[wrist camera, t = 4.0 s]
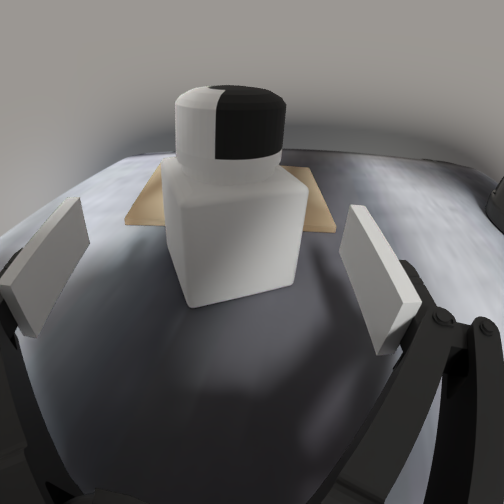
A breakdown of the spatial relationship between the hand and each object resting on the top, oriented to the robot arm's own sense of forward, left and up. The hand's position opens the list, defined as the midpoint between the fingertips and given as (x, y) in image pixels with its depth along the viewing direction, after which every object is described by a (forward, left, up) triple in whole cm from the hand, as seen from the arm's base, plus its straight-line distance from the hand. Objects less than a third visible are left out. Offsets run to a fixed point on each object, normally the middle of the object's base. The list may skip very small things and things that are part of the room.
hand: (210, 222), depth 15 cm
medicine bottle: (-1, -5, -7) cm, 8 cm away
